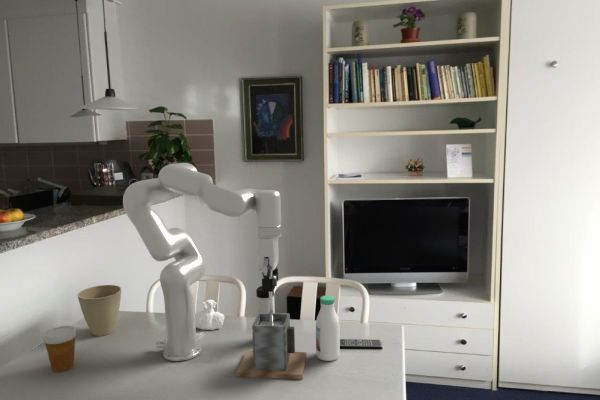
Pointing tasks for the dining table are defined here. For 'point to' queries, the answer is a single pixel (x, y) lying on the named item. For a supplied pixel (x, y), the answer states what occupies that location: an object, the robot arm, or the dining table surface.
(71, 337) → the disposable coffee cup
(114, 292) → the plant pot
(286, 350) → the stand
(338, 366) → the dining table surface
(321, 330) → the milk bottle
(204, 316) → the bust
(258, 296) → the travel mug
